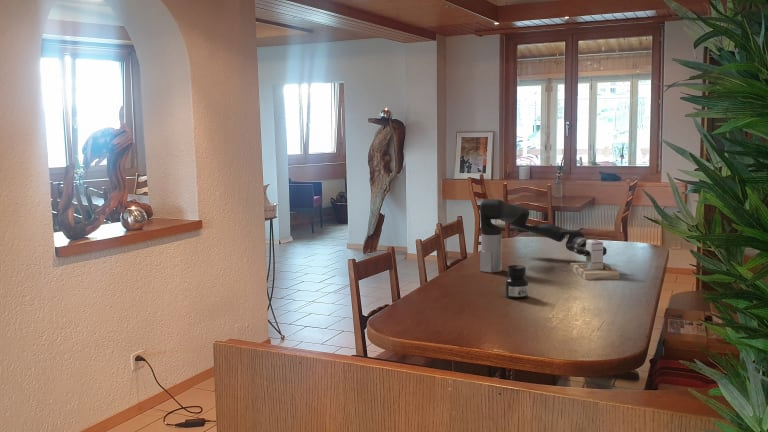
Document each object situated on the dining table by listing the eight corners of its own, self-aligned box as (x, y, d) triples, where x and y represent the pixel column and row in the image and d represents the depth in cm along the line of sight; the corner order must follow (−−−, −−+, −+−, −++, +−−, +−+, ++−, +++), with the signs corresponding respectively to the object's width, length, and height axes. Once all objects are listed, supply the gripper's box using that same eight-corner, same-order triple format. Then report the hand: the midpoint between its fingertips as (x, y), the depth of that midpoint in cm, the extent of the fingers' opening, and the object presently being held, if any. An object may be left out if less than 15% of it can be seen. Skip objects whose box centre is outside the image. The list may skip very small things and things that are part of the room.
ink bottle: (510, 300, 270) (510, 269, 268) (500, 295, 278) (500, 265, 277) (533, 298, 273) (533, 267, 271) (522, 293, 281) (522, 263, 279)
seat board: (619, 278, 303) (619, 271, 303) (584, 279, 303) (584, 272, 302) (602, 268, 325) (603, 261, 324) (570, 269, 325) (570, 262, 324)
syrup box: (603, 273, 311) (604, 241, 309) (590, 274, 311) (591, 241, 309) (597, 271, 317) (598, 239, 315) (585, 271, 316) (585, 239, 314)
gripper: (600, 254, 327) (612, 261, 311) (569, 255, 327) (579, 262, 311) (600, 238, 326) (612, 244, 310) (569, 239, 326) (580, 245, 310)
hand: (596, 253), depth 310 cm, fingers closed on syrup box, 6 cm apart
